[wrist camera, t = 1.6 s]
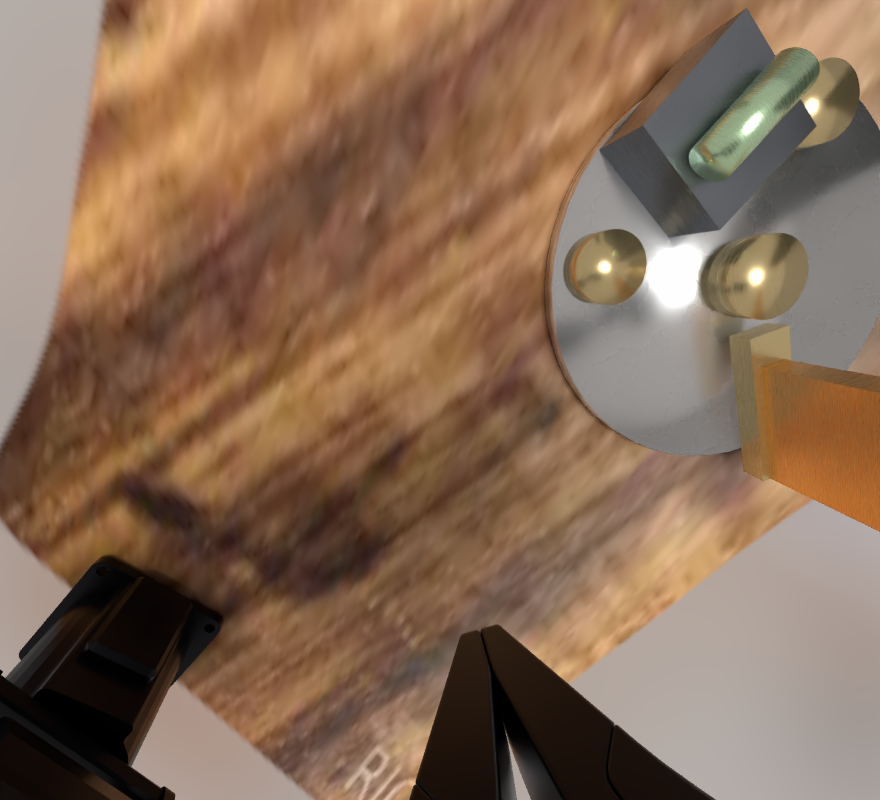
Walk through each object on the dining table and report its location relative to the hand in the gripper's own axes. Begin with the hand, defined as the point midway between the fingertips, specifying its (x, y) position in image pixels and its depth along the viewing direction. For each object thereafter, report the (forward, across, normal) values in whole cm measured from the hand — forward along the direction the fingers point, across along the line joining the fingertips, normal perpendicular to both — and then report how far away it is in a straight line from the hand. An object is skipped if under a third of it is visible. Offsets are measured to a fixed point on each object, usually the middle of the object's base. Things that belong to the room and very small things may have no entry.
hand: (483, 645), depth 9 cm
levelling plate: (+13, +16, +4) cm, 21 cm away
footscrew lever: (+12, +16, 0) cm, 20 cm away
